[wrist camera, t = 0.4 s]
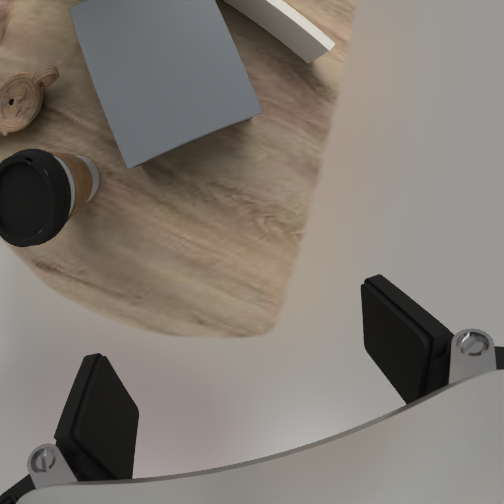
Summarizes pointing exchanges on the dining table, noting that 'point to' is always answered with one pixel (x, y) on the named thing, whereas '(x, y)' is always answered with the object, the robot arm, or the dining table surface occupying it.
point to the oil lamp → (23, 98)
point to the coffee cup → (42, 194)
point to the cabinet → (163, 72)
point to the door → (286, 26)
